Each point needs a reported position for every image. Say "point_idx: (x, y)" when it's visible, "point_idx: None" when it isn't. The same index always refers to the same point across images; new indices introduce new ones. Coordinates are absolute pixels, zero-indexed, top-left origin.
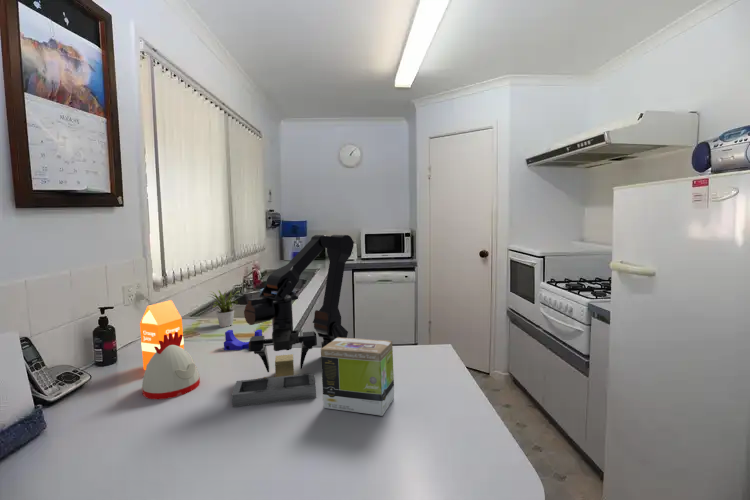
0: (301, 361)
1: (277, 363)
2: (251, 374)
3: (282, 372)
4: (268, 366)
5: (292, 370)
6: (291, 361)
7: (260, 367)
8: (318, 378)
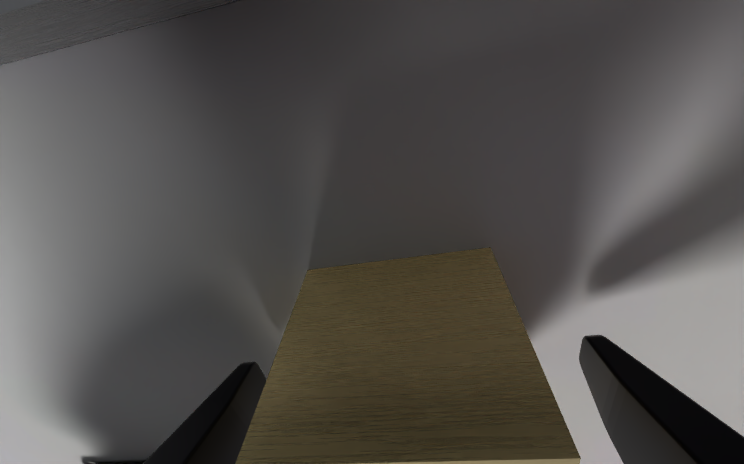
0: (190, 441)
1: (515, 420)
2: (733, 355)
3: (420, 298)
4: (634, 397)
5: (302, 321)
6: (270, 442)
7: None
8: (40, 215)
